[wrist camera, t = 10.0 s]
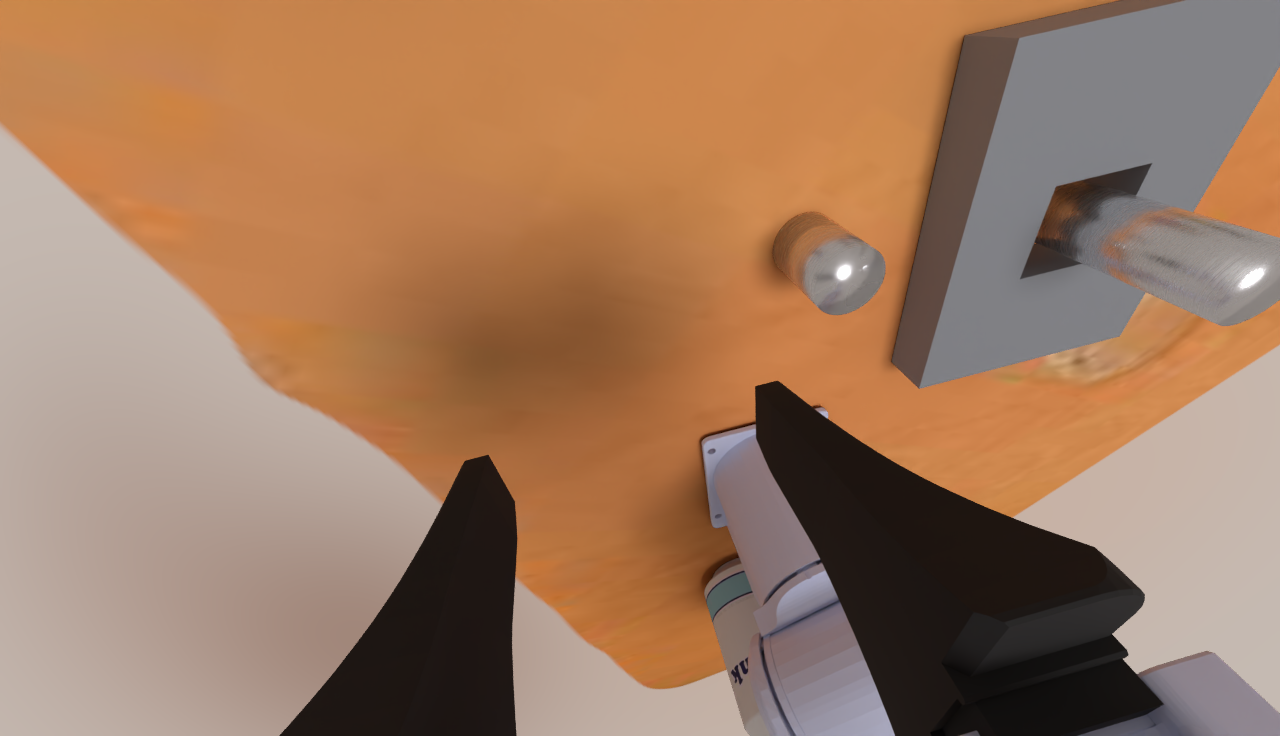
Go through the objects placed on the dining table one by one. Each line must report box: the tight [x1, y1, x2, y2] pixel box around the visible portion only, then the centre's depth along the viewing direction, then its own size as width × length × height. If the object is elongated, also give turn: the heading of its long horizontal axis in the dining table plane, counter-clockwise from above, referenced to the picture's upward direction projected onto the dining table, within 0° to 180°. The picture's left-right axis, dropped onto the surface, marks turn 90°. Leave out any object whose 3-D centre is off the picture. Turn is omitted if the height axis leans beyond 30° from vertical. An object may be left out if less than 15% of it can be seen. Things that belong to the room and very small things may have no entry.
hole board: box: [892, 0, 1280, 389], centre depth 22 cm, size 16×12×2 cm
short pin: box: [773, 212, 885, 315], centre depth 20 cm, size 3×3×4 cm
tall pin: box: [1035, 180, 1280, 326], centre depth 19 cm, size 3×3×9 cm
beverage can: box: [704, 558, 770, 736], centre depth 35 cm, size 7×7×12 cm
